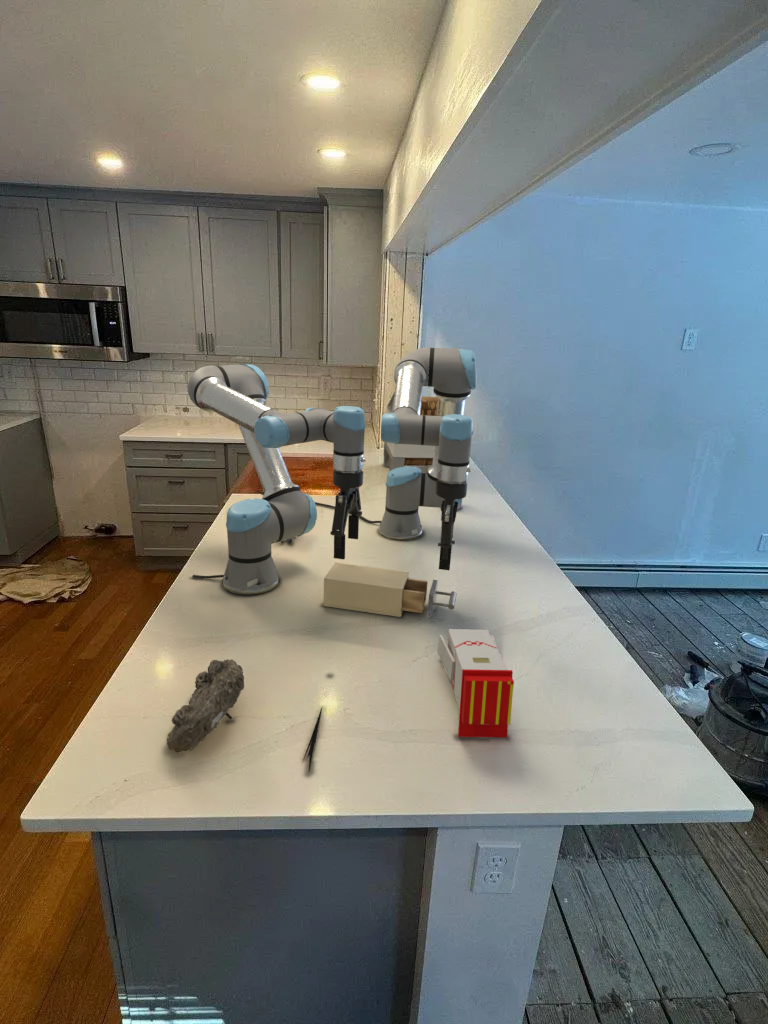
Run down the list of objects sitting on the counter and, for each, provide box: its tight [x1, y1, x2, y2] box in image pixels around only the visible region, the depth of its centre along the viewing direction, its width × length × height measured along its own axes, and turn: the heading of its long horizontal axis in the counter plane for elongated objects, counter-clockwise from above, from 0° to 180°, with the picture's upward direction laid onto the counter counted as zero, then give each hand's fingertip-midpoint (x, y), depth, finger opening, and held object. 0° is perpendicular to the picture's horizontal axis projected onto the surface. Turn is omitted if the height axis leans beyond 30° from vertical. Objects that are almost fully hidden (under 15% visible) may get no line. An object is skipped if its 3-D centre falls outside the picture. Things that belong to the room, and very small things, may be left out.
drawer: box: [402, 577, 458, 618], centre depth 149 cm, size 25×9×6 cm, turn 78°
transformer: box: [383, 391, 438, 472], centre depth 268 cm, size 34×33×41 cm
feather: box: [301, 673, 332, 771], centre depth 108 cm, size 2×28×2 cm
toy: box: [437, 628, 515, 738], centre depth 117 cm, size 12×13×30 cm
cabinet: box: [323, 562, 410, 618], centre depth 151 cm, size 21×10×8 cm, turn 78°
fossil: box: [166, 658, 245, 754], centre depth 106 cm, size 22×10×15 cm
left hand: (346, 548), depth 148 cm, fingers open, 13 cm apart
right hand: (444, 568), depth 145 cm, fingers closed
